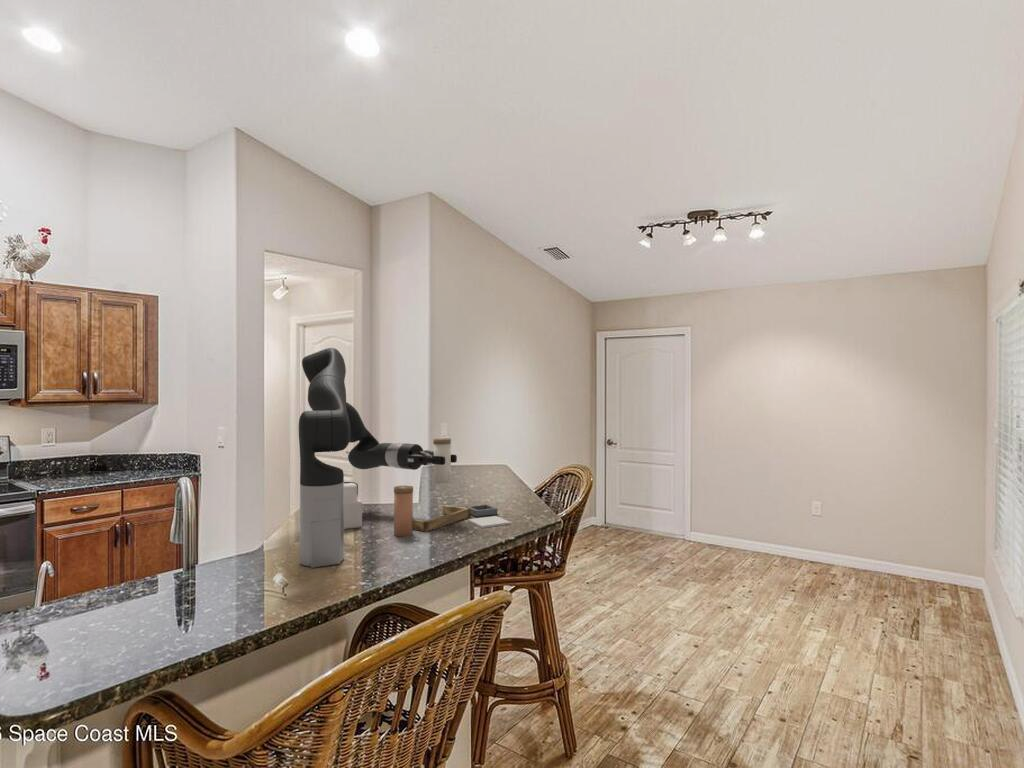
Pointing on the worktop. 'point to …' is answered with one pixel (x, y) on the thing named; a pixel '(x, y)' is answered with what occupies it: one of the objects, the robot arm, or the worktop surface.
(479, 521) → the white square tile
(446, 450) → the spice jar
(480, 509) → the hole dish
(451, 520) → the wooden tray
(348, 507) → the medicine bottle
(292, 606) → the worktop surface
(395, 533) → the terracotta jar
